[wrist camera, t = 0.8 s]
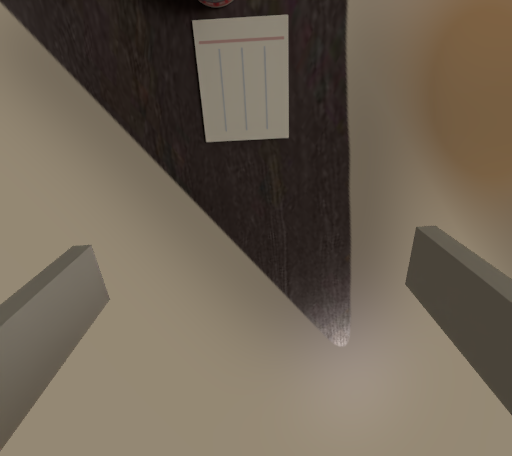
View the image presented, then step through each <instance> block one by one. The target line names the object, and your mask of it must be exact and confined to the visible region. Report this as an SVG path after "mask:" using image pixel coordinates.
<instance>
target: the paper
mask: <svg viewBox="0 0 512 456" xmlns="http://www.w3.org/2000/svg"><path fill="white" fill-rule="evenodd" d="M192 24H193V33H194V41H195V50H196V59H197V67H198V76H199V85H200V93H201V102H202V111H203V119H204V128H205V136H206V142H219V141H237V140H256V139H275V138H289V91H288V15H275V16H258V17H242V18H225V19H209V20H192Z"/></svg>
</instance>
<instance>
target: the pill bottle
mask: <svg viewBox="0 0 512 456" xmlns="http://www.w3.org/2000/svg"><path fill="white" fill-rule="evenodd" d="M199 1H200V2H201V3H203V4H204V5H206V6H209V7H214V8H218V7H223V6H226V5H228V4H229V3H231V2H232V1H233V0H199Z"/></svg>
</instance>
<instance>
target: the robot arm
mask: <svg viewBox="0 0 512 456" xmlns="http://www.w3.org/2000/svg"><path fill="white" fill-rule="evenodd" d="M405 284H406V286H407V287H408V288H409V289H410V291H411V292H412V293H413V294H414V295H415V297H416V298H417V299H418V300H419V302H420V303H421V304H422V305H423V307H424V308H425V309H426V310H427V311H428V313H429V314H430V315H431V316H432V317H433V319H434V320H435V321H436V323H437V324H438V325H439V326H440V327H441V329H442V330H443V331H444V332H445V334H446V335H447V336H448V337H449V338H450V340H451V341H452V342H453V343H454V345H455V346H456V347H457V348H458V350H459V351H460V352H461V353H462V354H463V356H464V357H465V358H466V359H467V361H468V362H469V363H470V364H471V366H472V367H473V368H474V369H475V370H476V372H477V373H478V374H479V375H480V377H481V378H482V379H483V380H484V382H485V383H486V384H487V385H488V386H489V388H490V389H491V390H492V391H493V393H494V394H495V395H496V396H497V397H498V399H499V400H500V401H501V402H502V404H503V405H504V406H505V407H506V409H507V410H508V411H509V412H510V414H511V415H512V279H511V278H509V277H508V276H506V275H505V274H503V273H502V272H501V271H499V270H498V269H496V268H495V267H493V266H492V265H491V264H489V263H488V262H486V261H485V260H484V259H482V258H481V257H479V256H478V255H477V254H475V253H474V252H472V251H471V250H469V249H468V248H467V247H465V246H464V245H462V244H461V243H459V242H458V241H457V240H455V239H454V238H452V237H451V236H449V235H448V234H447V233H445V232H444V231H442V230H441V229H439V228H438V227H437V226H424V227H416V231H415V237H414V242H413V247H412V252H411V257H410V262H409V267H408V272H407V278H406V283H405ZM109 300H110V298H109V295H108V293H107V290H106V287H105V284H104V281H103V278H102V275H101V273H100V270H99V266H98V263H97V260H96V258H95V255H94V251H93V249H92V246H91V245H84V246H72V247H71V248H70V249H69V250H67V251H66V252H65V253H64V254H63V255H61V256H60V257H59V258H58V259H56V260H55V261H54V262H53V263H51V264H50V265H49V266H48V267H46V268H45V269H44V270H43V271H42V272H40V273H39V274H38V275H37V276H35V277H34V278H33V279H32V280H31V281H29V282H28V283H27V284H26V285H24V286H23V287H22V288H21V289H19V290H18V291H17V292H16V293H14V294H13V295H12V296H11V297H9V298H8V299H7V300H6V301H5V302H3V303H2V304H1V305H0V451H1V450H2V448H3V447H4V445H5V444H6V443H7V441H8V440H9V439H10V437H11V436H12V434H13V433H14V432H15V430H16V429H17V427H18V426H19V425H20V423H21V422H22V420H23V419H24V418H25V416H26V415H27V414H28V412H29V411H30V409H31V408H32V407H33V405H34V404H35V402H36V401H37V400H38V398H39V397H40V396H41V394H42V393H43V391H44V390H45V389H46V387H47V386H48V384H49V383H50V381H51V380H52V379H53V377H54V376H55V375H56V373H57V372H58V370H59V369H60V368H61V366H62V365H63V364H64V362H65V361H66V359H67V358H68V357H69V355H70V354H71V352H72V351H73V350H74V348H75V347H76V346H77V344H78V343H79V341H80V340H81V339H82V337H83V336H84V334H85V333H86V332H87V330H88V329H89V327H90V326H91V325H92V323H93V322H94V321H95V319H96V318H97V316H98V315H99V314H100V312H101V311H102V310H103V308H104V307H105V305H106V304H107V303H108V301H109Z"/></svg>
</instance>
